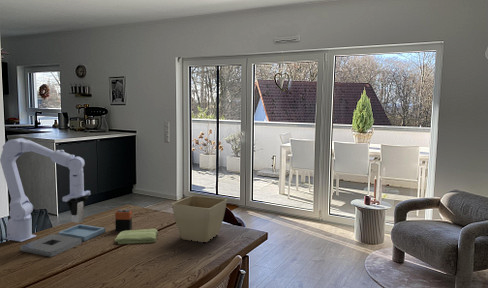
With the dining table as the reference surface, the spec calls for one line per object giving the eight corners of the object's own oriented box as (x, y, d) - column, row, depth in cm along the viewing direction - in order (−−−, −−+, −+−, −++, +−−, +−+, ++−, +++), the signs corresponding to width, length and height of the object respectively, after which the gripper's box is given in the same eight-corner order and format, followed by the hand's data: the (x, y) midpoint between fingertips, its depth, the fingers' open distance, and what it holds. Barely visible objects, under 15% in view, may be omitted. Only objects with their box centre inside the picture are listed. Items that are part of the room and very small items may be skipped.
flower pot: (170, 240, 165) (170, 203, 163) (192, 228, 182) (192, 194, 181) (208, 247, 158) (209, 208, 156) (227, 234, 175) (227, 199, 174)
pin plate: (20, 250, 148) (20, 246, 148) (52, 238, 163) (52, 233, 163) (51, 256, 143) (51, 251, 143) (81, 243, 158) (81, 238, 158)
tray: (58, 236, 166) (58, 232, 165) (79, 228, 178) (79, 224, 178) (85, 241, 161) (84, 236, 161) (105, 232, 173) (105, 228, 173)
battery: (129, 231, 175) (129, 210, 174) (115, 231, 175) (115, 210, 174) (132, 228, 180) (132, 208, 179) (118, 228, 179) (118, 208, 179)
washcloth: (119, 235, 171) (119, 228, 170) (158, 234, 174) (158, 227, 173) (114, 245, 158) (114, 238, 158) (156, 244, 161) (156, 237, 160)
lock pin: (71, 221, 165) (70, 202, 164) (77, 219, 168) (77, 200, 167) (77, 222, 164) (77, 203, 163) (83, 220, 167) (83, 201, 166)
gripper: (71, 187, 156) (71, 219, 158) (95, 182, 170) (95, 210, 171) (58, 186, 159) (59, 217, 160) (83, 180, 172) (83, 209, 174)
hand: (77, 213), depth 166 cm, fingers closed on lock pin, 4 cm apart
